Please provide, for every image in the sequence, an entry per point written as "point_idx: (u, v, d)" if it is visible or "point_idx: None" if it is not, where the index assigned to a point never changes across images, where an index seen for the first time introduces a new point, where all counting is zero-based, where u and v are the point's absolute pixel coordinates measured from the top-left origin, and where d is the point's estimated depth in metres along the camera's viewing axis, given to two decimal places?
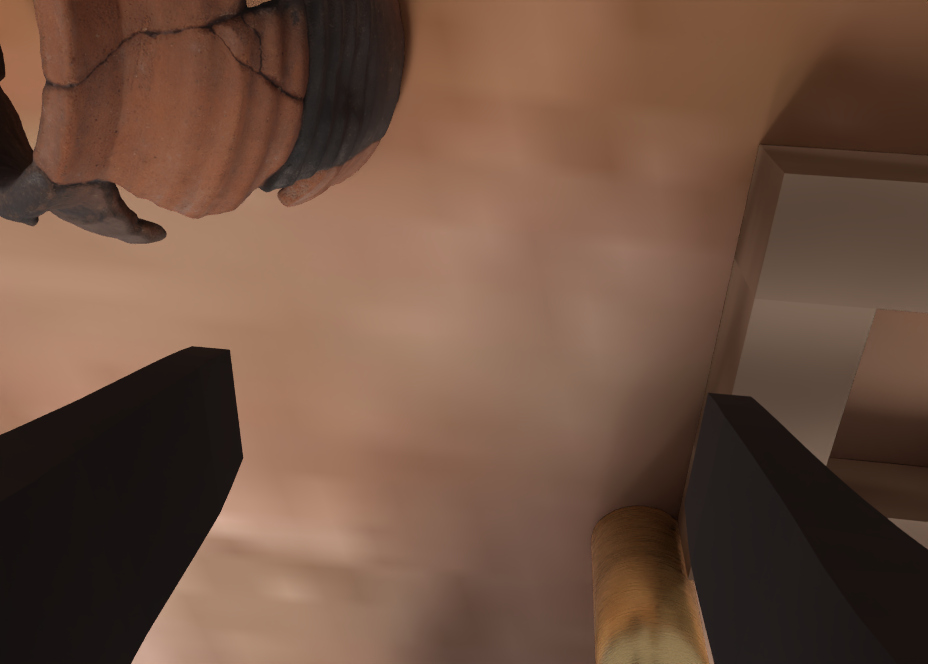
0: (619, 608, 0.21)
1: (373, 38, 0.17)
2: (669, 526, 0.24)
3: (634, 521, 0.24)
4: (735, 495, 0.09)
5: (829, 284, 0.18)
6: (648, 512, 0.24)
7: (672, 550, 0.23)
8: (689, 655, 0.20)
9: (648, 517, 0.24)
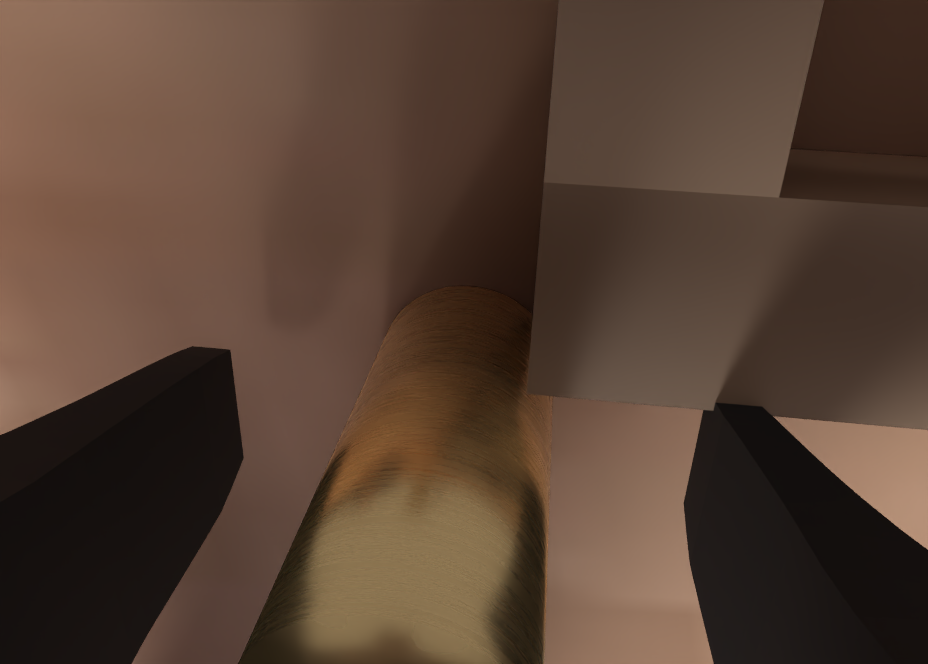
0: (356, 436, 0.10)
1: None
2: (512, 316, 0.12)
3: (442, 305, 0.12)
4: (734, 494, 0.09)
5: None
6: (474, 293, 0.13)
7: (505, 346, 0.11)
8: (477, 516, 0.08)
9: (470, 298, 0.12)
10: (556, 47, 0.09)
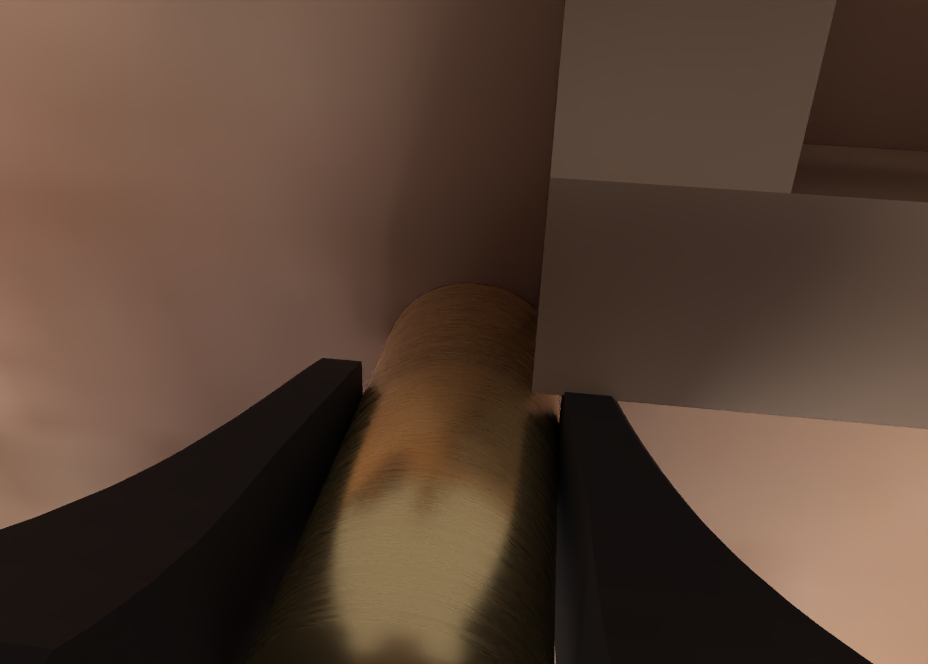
0: (361, 436, 0.09)
1: None
2: (518, 313, 0.12)
3: (448, 302, 0.12)
4: (566, 477, 0.10)
5: None
6: (480, 290, 0.12)
7: (512, 344, 0.11)
8: (485, 519, 0.08)
9: (476, 296, 0.12)
10: (564, 39, 0.08)
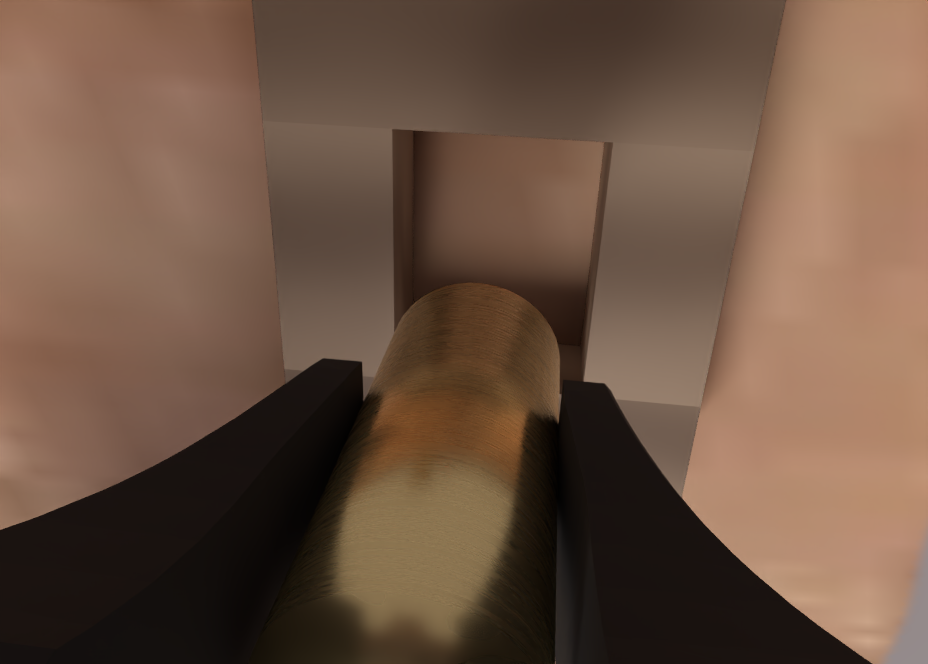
0: (381, 419, 0.10)
1: None
2: (529, 319, 0.13)
3: (463, 299, 0.12)
4: (566, 477, 0.10)
5: (334, 100, 0.16)
6: (494, 292, 0.13)
7: (524, 347, 0.12)
8: (505, 511, 0.08)
9: (491, 297, 0.12)
10: (279, 313, 0.18)
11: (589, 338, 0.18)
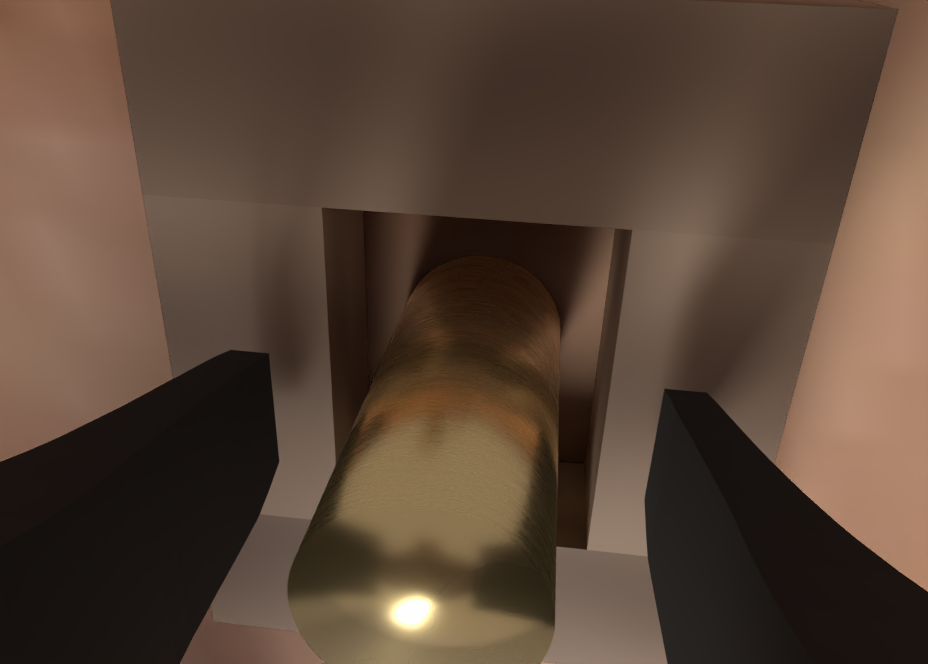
0: (399, 372, 0.11)
1: None
2: (532, 288, 0.14)
3: (471, 270, 0.13)
4: (684, 489, 0.09)
5: (240, 168, 0.11)
6: (499, 264, 0.14)
7: (527, 313, 0.13)
8: (512, 446, 0.09)
9: (496, 268, 0.14)
10: None
11: (597, 479, 0.13)
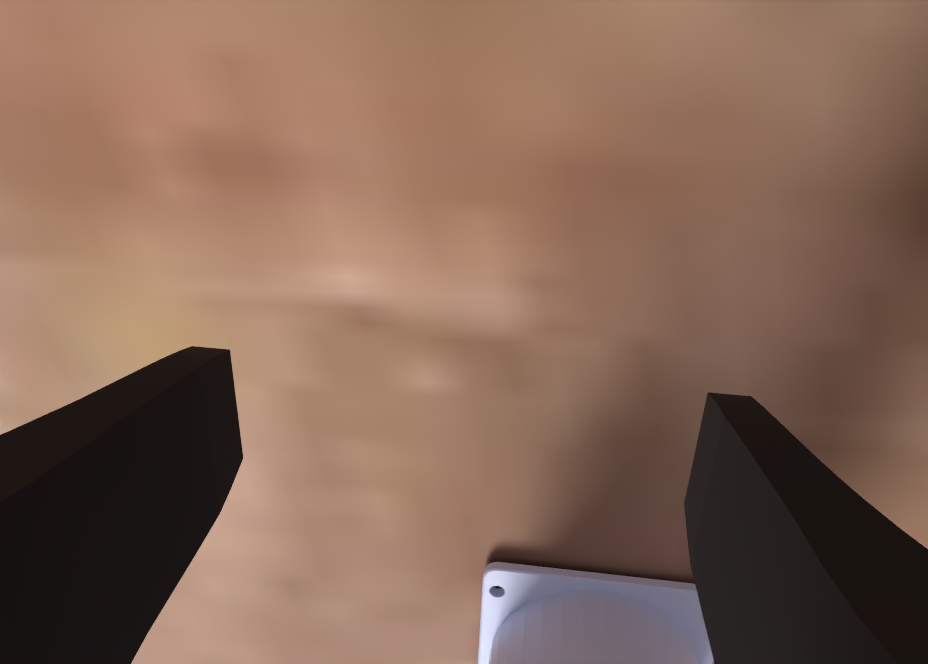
0: None
1: None
2: None
3: None
4: (735, 494, 0.09)
5: None
6: None
7: None
8: None
9: None
10: None
11: None
